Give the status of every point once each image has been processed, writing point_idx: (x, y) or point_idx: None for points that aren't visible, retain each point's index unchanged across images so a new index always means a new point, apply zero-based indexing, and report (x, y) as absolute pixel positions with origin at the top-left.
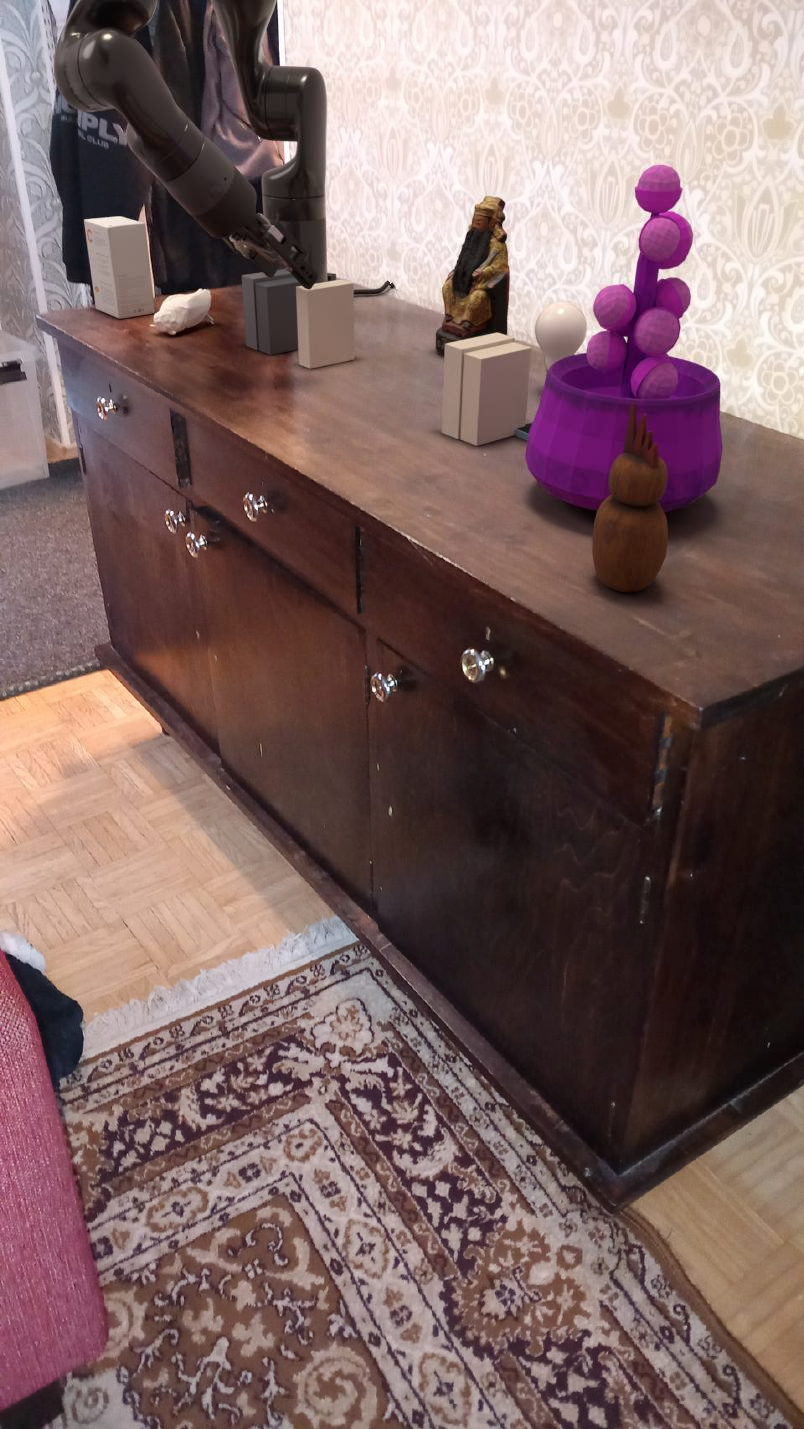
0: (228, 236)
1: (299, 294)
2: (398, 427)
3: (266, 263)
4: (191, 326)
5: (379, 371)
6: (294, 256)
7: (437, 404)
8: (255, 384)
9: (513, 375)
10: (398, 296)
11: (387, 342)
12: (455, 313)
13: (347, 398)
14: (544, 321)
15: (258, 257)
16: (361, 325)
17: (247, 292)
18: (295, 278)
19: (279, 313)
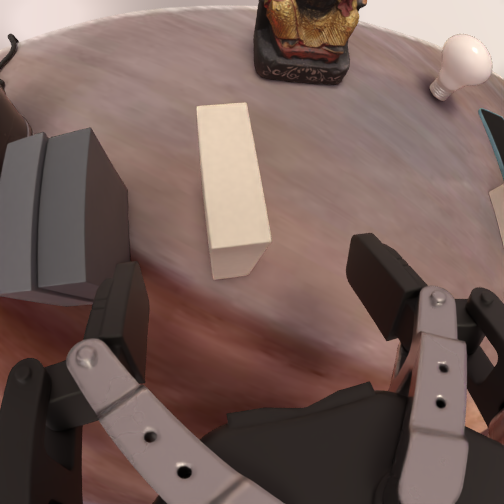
0: (73, 483)
1: (229, 251)
2: (489, 287)
3: (140, 320)
4: None
5: (311, 183)
6: (478, 342)
7: (449, 206)
8: (284, 396)
9: None
10: (34, 37)
11: (176, 100)
12: (303, 35)
13: None
14: (484, 72)
15: (139, 358)
16: (82, 97)
17: (28, 296)
18: (369, 313)
19: (108, 258)
